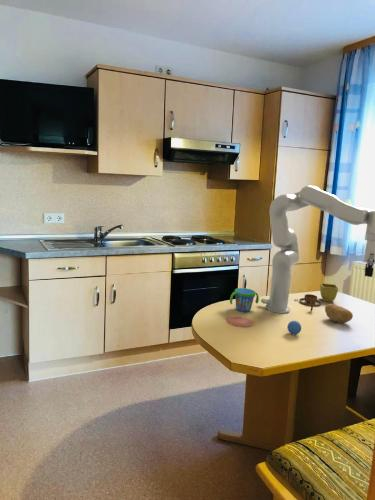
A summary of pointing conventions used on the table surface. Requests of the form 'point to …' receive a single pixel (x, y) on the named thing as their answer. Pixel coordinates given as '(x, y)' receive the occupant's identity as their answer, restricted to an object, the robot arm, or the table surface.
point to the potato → (338, 313)
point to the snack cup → (244, 299)
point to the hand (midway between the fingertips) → (368, 274)
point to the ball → (294, 327)
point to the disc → (240, 321)
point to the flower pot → (328, 291)
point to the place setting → (309, 300)
